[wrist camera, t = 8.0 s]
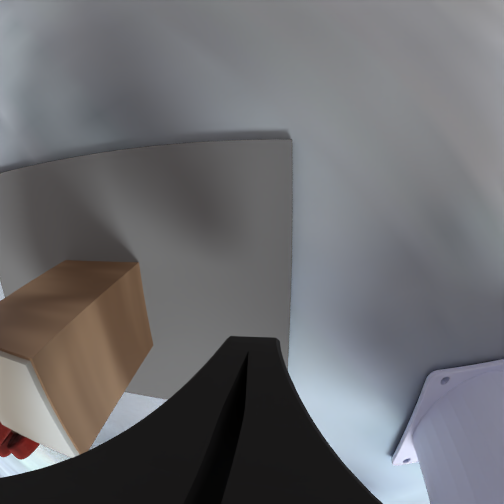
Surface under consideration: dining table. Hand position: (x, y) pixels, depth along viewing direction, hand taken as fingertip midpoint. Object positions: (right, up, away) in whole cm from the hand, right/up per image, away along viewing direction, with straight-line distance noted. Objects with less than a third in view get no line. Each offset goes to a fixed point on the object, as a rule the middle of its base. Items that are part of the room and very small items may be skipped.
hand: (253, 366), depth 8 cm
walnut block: (-7, +1, +5) cm, 8 cm away
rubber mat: (-6, +2, +5) cm, 8 cm away
